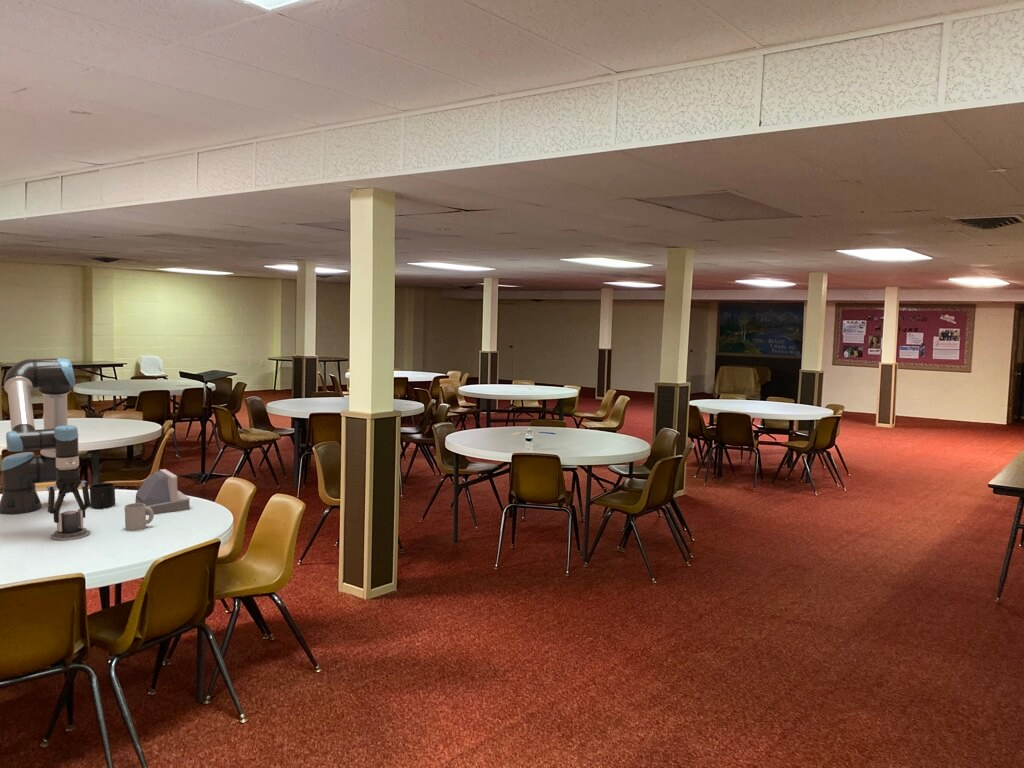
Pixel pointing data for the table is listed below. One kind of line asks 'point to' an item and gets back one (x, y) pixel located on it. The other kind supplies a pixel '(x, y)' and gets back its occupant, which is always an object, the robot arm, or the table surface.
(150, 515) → the cup
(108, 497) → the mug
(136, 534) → the table surface
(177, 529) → the table surface
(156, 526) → the table surface
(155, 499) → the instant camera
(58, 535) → the ring
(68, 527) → the dark grey cylinder
